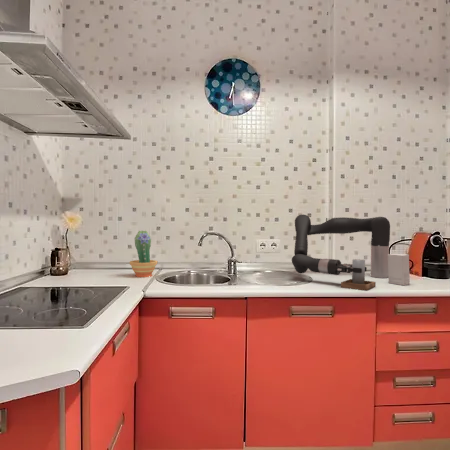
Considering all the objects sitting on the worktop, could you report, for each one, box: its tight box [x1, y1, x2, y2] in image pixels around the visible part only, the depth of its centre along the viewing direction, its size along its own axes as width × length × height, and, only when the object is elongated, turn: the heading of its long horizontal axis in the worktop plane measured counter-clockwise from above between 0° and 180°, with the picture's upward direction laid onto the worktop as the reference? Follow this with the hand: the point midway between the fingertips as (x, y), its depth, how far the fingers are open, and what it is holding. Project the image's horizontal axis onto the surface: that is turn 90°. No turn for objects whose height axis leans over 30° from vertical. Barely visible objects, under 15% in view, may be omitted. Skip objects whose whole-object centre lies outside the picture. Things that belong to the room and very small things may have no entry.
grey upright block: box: [351, 258, 366, 284], centre depth 176 cm, size 6×6×11 cm
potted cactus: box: [128, 230, 158, 278], centre depth 205 cm, size 15×15×25 cm
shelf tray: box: [340, 278, 377, 292], centre depth 176 cm, size 12×12×2 cm
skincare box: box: [387, 253, 411, 286], centre depth 185 cm, size 8×6×15 cm
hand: (363, 270), depth 174 cm, fingers closed on grey upright block, 5 cm apart
